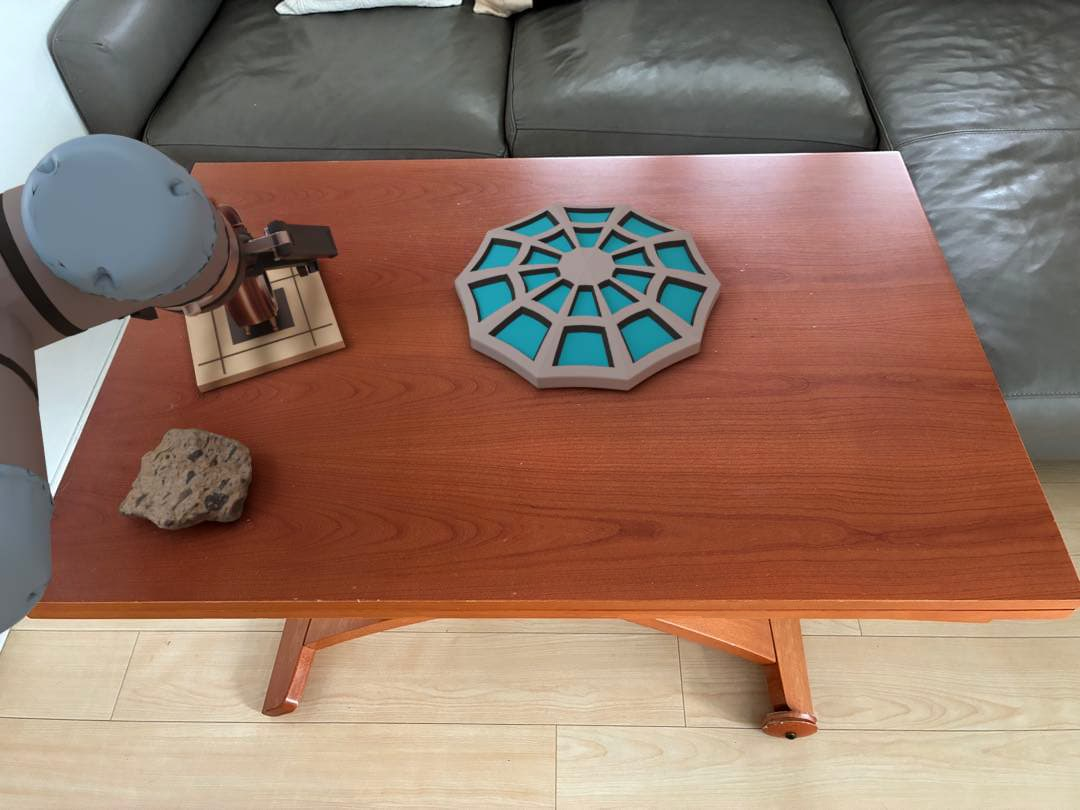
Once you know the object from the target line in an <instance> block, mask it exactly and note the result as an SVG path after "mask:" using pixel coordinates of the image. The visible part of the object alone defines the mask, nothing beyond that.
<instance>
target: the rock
mask: <svg viewBox="0 0 1080 810" xmlns="http://www.w3.org/2000/svg"><path fill="white" fill-rule="evenodd" d="M252 461H253V460H252V457H251V451H250V449H249V448H248V446H246V445H244V444H243V443H242V442H241V441H240V440H236V439H235V438H231V437H228V436H226V435H223V434H218V433H214V432H210V431H208V430H206V429H203V430H201V429H199V428H195V427H193V428H186V429H185V428H183V429H181V428H177V427H173V428H171V429H169V430H168V431H167V432H166V433H165V434H164V435H163V438H162V440H161V442H160V443H159V444H158V446H157V447H156V448H155V449H153V450H150V451H148V452H146V453H145V454H144V455H143V456H142V457H141V463H140V471H139V472H138V474H137V477H136V478H135V479H134V481H133V482H132V484H131V487H132V489H131V490H130V491H129V492H128V494H127V495H126V497H125V499H124V500H123V501H121V503H120V505H119V509H118V512H119V514H120V515H122V516H124V517H126V518H129V519H133V520H147V521H148V520H149V521H151V522H152V523H154V524H155V525H156V526H157V527H158V528H159V529H164V530H169V531H177V530H180V529H185V528H188V527H192V526H195V525H197V524H201V523H202V522H204V521H209V522H210V521H211V522H221V523H227V522H229V523H230V522H234V521H236V520H238V519H239V518H241V515H242V513H243V511H244V510H243V507H244V502H245V500H246V498H247V497H248V491H249V490H248V489H249V485H250V483H252V473H253V468H252Z"/></svg>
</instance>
